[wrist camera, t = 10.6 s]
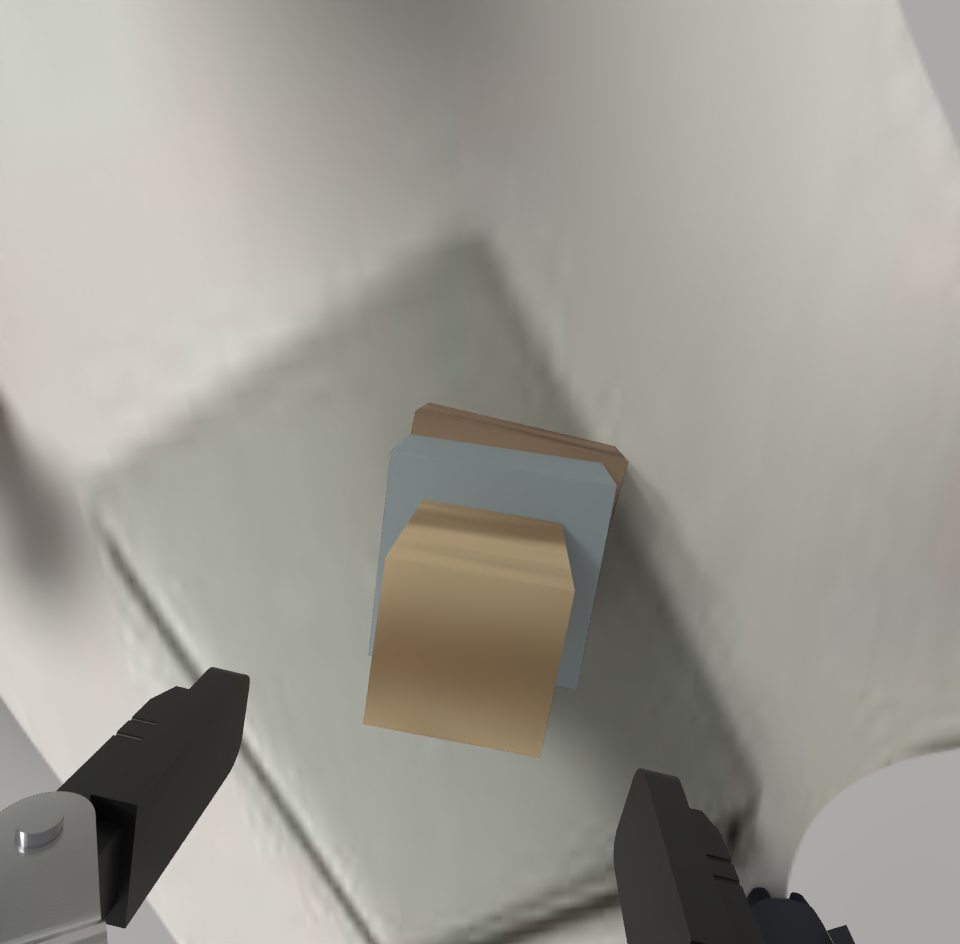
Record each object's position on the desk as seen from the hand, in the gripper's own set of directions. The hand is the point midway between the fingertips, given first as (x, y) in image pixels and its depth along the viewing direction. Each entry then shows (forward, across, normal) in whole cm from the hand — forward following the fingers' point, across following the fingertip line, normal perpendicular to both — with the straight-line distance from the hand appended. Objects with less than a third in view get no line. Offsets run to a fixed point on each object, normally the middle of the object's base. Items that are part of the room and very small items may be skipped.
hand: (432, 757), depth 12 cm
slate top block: (+14, -1, 0) cm, 14 cm away
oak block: (+10, 0, 0) cm, 10 cm away
